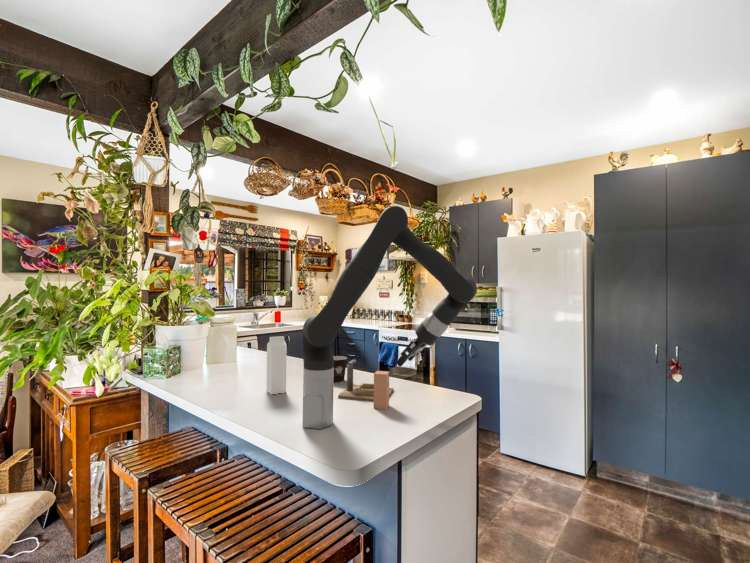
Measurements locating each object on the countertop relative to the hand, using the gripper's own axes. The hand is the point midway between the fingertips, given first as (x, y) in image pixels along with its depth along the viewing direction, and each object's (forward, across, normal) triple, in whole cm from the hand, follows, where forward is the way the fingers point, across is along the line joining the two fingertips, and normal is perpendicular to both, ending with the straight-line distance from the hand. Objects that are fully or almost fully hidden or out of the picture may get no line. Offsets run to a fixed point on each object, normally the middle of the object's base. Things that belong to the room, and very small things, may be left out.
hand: (403, 361), depth 128 cm
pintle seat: (+26, -10, -4) cm, 28 cm away
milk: (+46, +6, -29) cm, 55 cm away
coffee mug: (+42, -21, -21) cm, 51 cm away
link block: (+18, +1, +4) cm, 19 cm away
